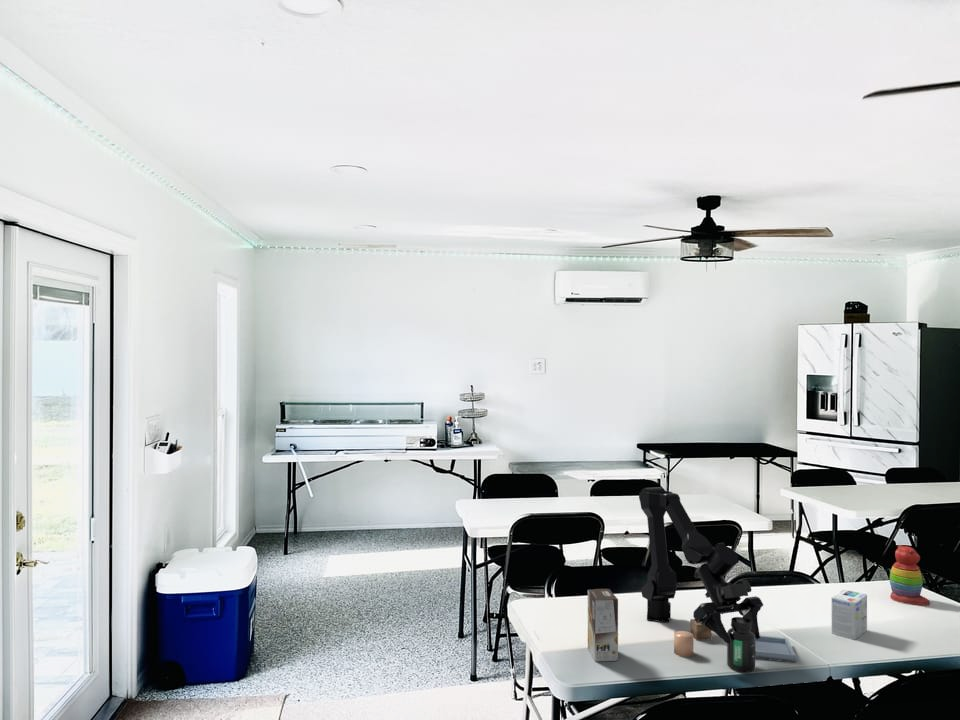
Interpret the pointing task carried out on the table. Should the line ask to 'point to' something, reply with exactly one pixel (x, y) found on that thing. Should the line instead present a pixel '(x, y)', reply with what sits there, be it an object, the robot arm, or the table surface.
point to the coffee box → (603, 625)
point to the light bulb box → (849, 614)
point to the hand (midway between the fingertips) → (744, 640)
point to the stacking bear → (907, 577)
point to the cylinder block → (683, 643)
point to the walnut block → (700, 631)
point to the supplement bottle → (741, 645)
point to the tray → (774, 649)
